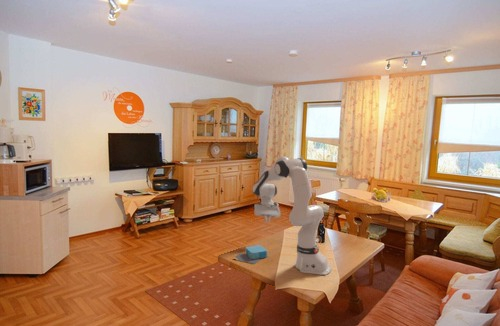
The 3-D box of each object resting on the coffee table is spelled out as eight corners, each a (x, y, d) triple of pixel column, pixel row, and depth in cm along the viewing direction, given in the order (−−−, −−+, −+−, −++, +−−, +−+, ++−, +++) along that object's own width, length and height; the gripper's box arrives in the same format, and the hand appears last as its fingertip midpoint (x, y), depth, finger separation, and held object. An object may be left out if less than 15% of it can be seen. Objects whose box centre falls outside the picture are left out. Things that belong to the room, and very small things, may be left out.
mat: (261, 257, 210) (261, 257, 210) (254, 264, 200) (254, 263, 200) (239, 253, 217) (239, 252, 217) (232, 259, 208) (232, 259, 208)
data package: (244, 253, 216) (251, 259, 205) (244, 247, 216) (251, 253, 205) (260, 250, 221) (267, 256, 210) (260, 244, 221) (267, 250, 210)
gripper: (255, 201, 232) (256, 218, 224) (280, 204, 237) (281, 221, 230) (252, 204, 237) (253, 221, 229) (277, 207, 242) (278, 224, 235)
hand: (267, 221), depth 229 cm, fingers closed
